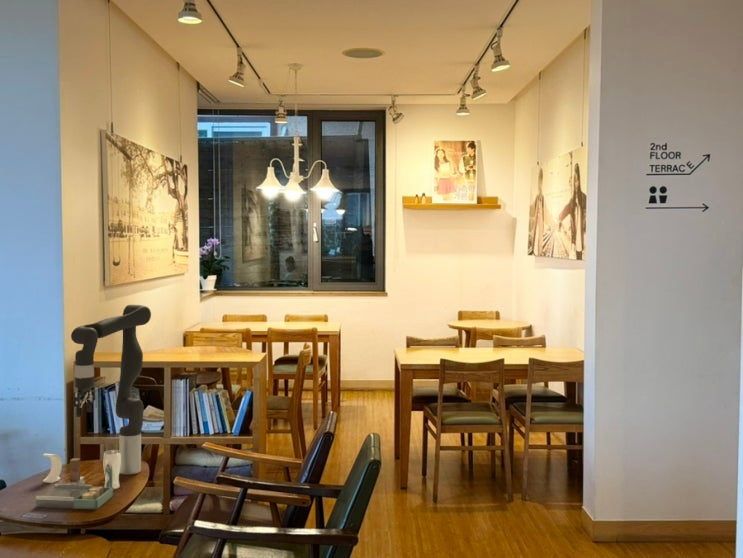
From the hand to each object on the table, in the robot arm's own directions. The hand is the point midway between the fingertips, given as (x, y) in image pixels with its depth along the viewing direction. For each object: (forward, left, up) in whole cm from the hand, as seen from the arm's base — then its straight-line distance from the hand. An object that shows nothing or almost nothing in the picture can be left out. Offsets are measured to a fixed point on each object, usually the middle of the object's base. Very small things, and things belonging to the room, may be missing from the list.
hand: (84, 414), depth 286 cm
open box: (+14, -1, -32) cm, 34 cm away
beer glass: (-4, +10, -32) cm, 34 cm away
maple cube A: (+11, +8, -29) cm, 32 cm away
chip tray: (+14, +11, -32) cm, 36 cm away
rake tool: (-2, -5, -32) cm, 32 cm away
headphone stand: (-10, -19, -32) cm, 38 cm away
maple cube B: (+17, +8, -29) cm, 35 cm away
